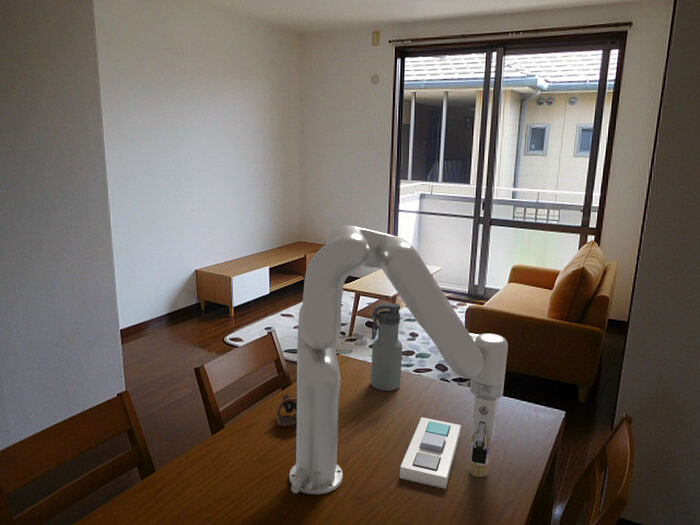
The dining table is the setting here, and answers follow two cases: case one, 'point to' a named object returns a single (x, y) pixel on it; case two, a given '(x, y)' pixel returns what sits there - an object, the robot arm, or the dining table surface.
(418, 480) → the keypad frame
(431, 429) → the teal key
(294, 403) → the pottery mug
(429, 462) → the charcoal key
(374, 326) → the water bottle
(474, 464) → the sprinkles bottle
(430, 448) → the slate key
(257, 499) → the dining table surface
